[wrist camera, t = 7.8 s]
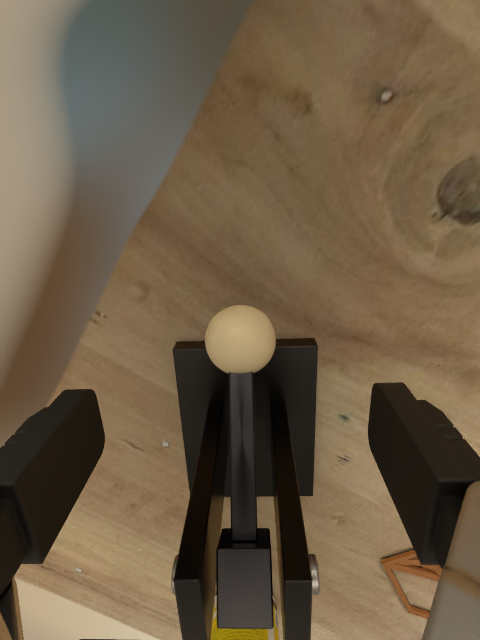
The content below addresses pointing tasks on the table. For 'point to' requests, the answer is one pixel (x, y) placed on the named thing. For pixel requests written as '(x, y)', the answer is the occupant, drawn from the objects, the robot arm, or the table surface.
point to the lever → (242, 471)
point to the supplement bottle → (244, 637)
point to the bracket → (271, 476)
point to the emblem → (405, 565)
